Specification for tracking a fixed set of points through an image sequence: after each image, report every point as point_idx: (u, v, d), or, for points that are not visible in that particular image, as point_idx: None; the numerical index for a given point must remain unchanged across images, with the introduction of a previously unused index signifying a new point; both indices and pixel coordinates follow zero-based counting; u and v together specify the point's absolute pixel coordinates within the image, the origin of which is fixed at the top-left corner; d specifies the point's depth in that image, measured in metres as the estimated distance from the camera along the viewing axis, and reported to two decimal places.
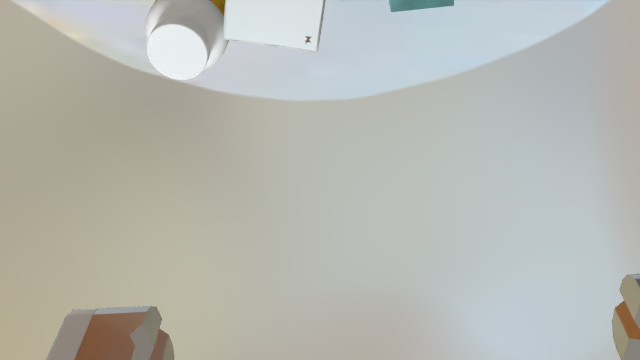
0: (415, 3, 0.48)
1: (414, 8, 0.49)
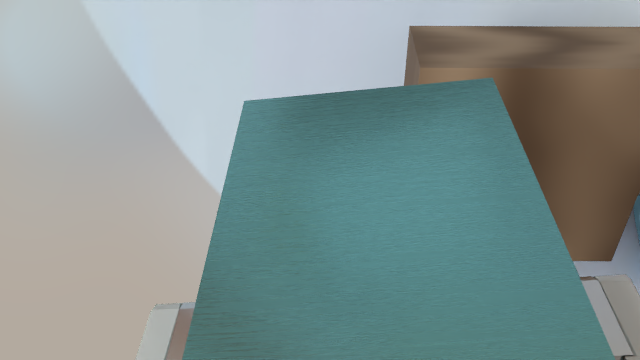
0: None
1: None
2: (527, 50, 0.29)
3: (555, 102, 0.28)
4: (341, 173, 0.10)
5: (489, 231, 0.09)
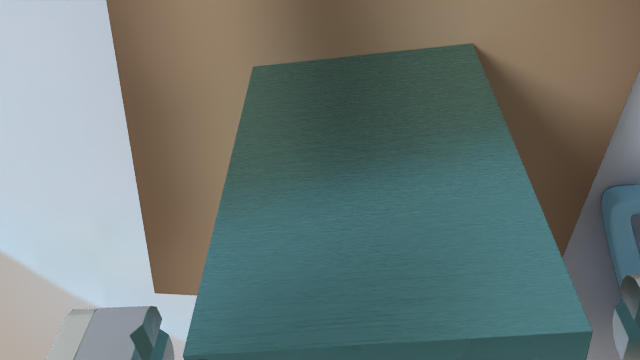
0: None
1: None
2: None
3: None
4: (338, 121, 0.12)
5: (462, 162, 0.10)
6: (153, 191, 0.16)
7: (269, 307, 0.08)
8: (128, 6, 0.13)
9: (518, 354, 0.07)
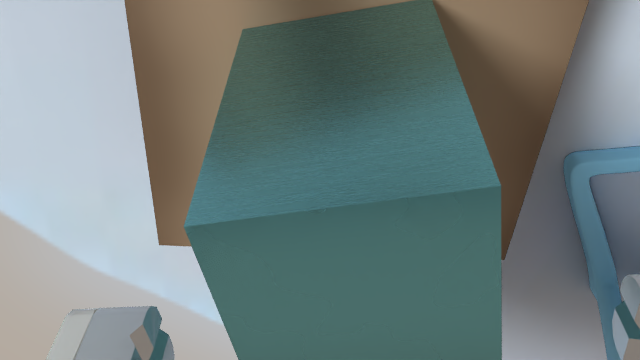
0: (244, 305, 0.11)
1: (221, 304, 0.11)
2: None
3: None
4: (312, 63, 0.14)
5: (413, 83, 0.12)
6: (159, 147, 0.18)
7: (251, 191, 0.10)
8: None
9: (447, 211, 0.09)
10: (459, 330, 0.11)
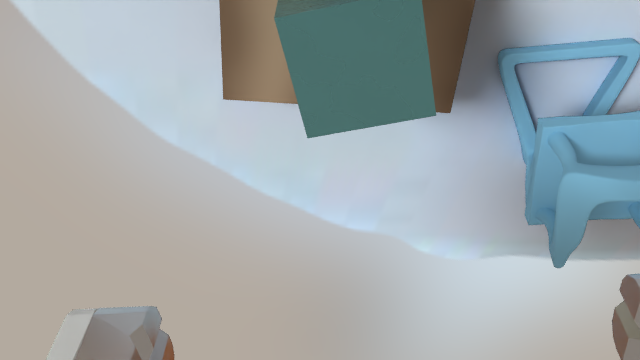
0: (301, 66, 0.22)
1: (290, 66, 0.22)
2: None
3: None
4: None
5: None
6: (229, 26, 0.29)
7: (304, 4, 0.21)
8: None
9: (397, 4, 0.20)
10: (410, 78, 0.22)
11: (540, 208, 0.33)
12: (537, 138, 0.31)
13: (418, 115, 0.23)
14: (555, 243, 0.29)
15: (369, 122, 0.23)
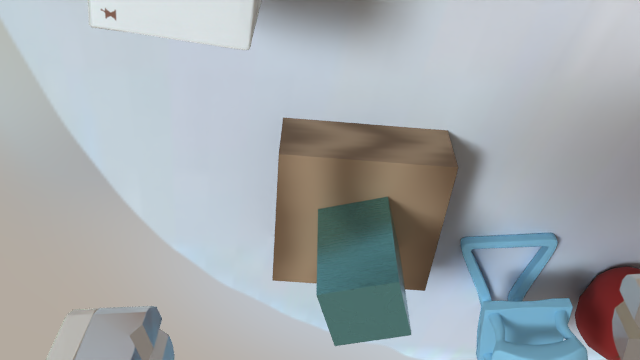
0: (331, 314, 0.37)
1: (325, 314, 0.37)
2: (357, 144, 0.42)
3: (372, 182, 0.41)
4: (346, 230, 0.40)
5: (379, 242, 0.39)
6: (280, 242, 0.45)
7: (333, 283, 0.37)
8: (283, 188, 0.42)
9: (386, 288, 0.36)
10: (395, 319, 0.38)
11: (485, 353, 0.48)
12: (482, 313, 0.46)
13: (401, 335, 0.39)
14: None
15: (371, 338, 0.39)
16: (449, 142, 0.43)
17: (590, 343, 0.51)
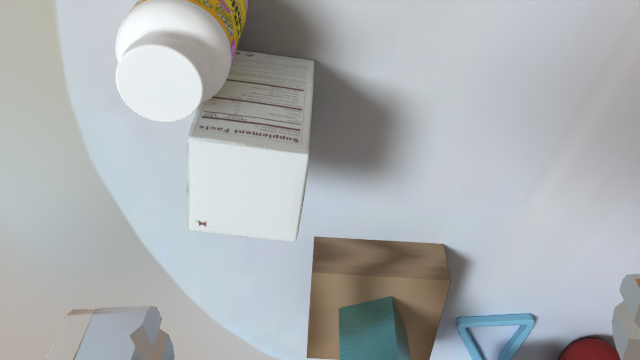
0: None
1: None
2: (372, 260, 0.54)
3: (384, 290, 0.54)
4: (360, 327, 0.52)
5: (385, 338, 0.51)
6: (313, 331, 0.57)
7: None
8: (316, 294, 0.54)
9: None
10: None
11: None
12: None
13: None
14: None
15: None
16: (444, 256, 0.55)
17: None
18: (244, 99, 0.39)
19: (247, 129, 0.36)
